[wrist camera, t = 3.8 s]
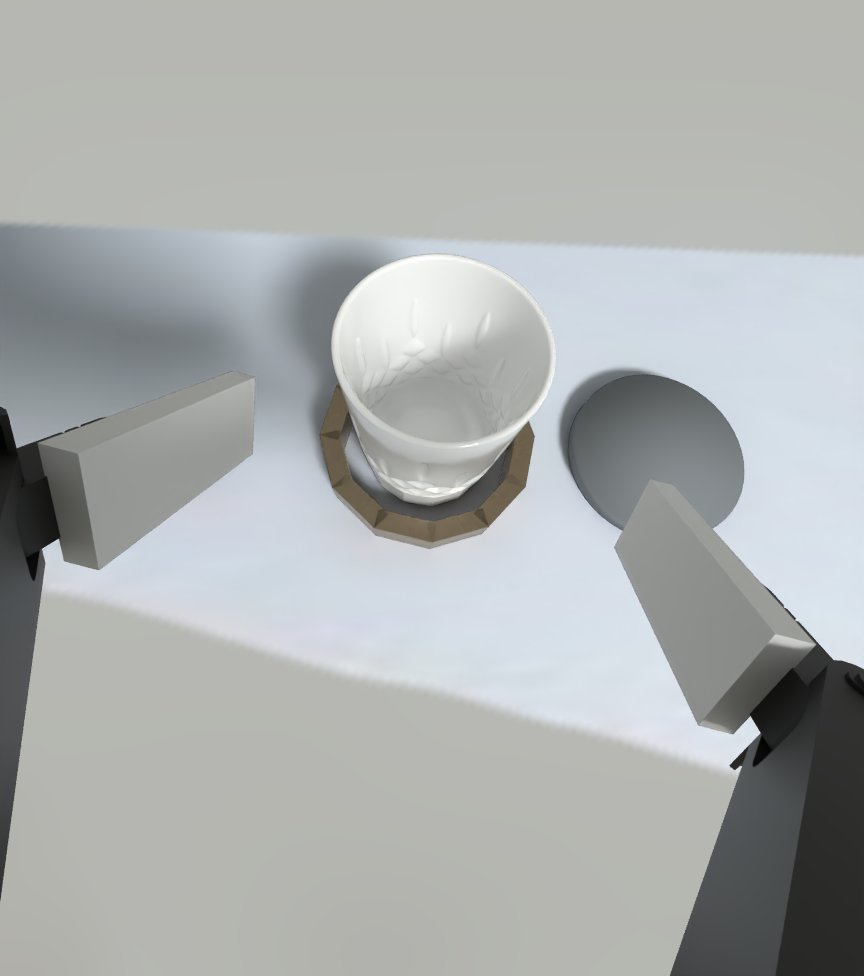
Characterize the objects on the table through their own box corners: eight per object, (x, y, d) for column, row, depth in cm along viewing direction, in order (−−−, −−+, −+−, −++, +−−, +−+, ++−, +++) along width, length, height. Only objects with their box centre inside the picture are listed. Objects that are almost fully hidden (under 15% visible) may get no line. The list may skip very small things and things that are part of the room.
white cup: (333, 423, 24) (291, 299, 15) (450, 369, 26) (481, 225, 16) (399, 542, 23) (400, 489, 13) (520, 476, 24) (599, 385, 15)
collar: (302, 517, 23) (293, 508, 21) (360, 346, 26) (357, 325, 24) (502, 567, 23) (512, 563, 21) (535, 390, 26) (546, 373, 24)
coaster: (556, 516, 24) (563, 512, 23) (579, 366, 27) (586, 357, 26) (729, 559, 24) (743, 557, 23) (733, 405, 27) (745, 397, 26)
